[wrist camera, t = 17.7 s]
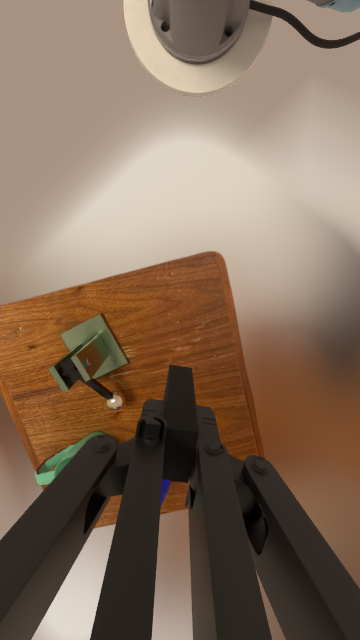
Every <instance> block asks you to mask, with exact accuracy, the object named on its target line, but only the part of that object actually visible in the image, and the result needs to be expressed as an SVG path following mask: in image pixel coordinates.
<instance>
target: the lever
mask: <svg viewBox="0 0 360 640" xmlns="http://www.w3.org/2000/svg"><path fill="white" fill-rule="evenodd" d="M62 374H63V375H64V376H65V377H67V378H68V379H70V380H71V381H73V382H75V381H77V380H79V379H80V380H81V381H82V382H84V383H85V384H87V385H88V386H89V387H91V388H92V389H94V390H95V391H96V392H98V393H99V394H100V395H102V396H103V397H105V398H106V405H107V407H108V408H109V409H111V410H119V409H120V408H122V407H123V405H124V403H125V396H124V395H123V393H122V392H120V391H112V392H111V391H109V390H108V389H107V388H105V387H104V386H103V385H102V384H100V383H99V382H98V381H96V380H95V379H94V378H91V380H88V381H86V382H85V380H84V379H83V377H82V375H81V374H80V372H79V371H78V369H77V367H76V366H75V364H74V363H73V361H72V359H71V358H70V359H68V360H66V361H64V362H63V368H62Z"/></svg>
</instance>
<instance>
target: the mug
mask: <svg viewBox="0 0 360 640" xmlns="http://www.w3.org/2000/svg"><path fill="white" fill-rule="evenodd" d="M102 434H104V433H102V432H99V431H96V432H92V433H91V434H89V435H88V436H86V437H85V438H83V439H82V440H81V441H79V442H78V443H76V444H74V445H71V446H68V447H66V448H63V449H62V450H60V451H59V452H57V453H55V454H54V455H52V456H51V457H49V458H47V459H46V460H44V462H43V463H42V464H41V465H40V467H39V468H38V469H37V470H36V472H35V475H34V476H35V478H36V480H37V482H38V484H39V485H45V484H50V483H51V482H52V480H53V479H54V478H55V477H56V476H57V475H58V474H59V472H60V471H61V470H62V469H63V468H64V467H65V465H66V464H67V463H68V462H69V461H70V460H71V459H72V457H73V456H74V455H75V454H76V453H77V452H78V451H79V449H80V448H81V447H82V446H83V445H84V444H85V443H86V441H87V440H89V439H90V438H91V437H93V436H96V435H102ZM104 435H106V434H104ZM57 464H58V465H57ZM56 465H57V466H56ZM54 466H56V468H55V470H52V471H49V470H50V469H51V468H53V467H54ZM47 471H49V472H47Z"/></svg>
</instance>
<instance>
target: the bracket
mask: <svg viewBox="0 0 360 640" xmlns="http://www.w3.org/2000/svg"><path fill="white" fill-rule="evenodd" d="M60 336H61V337H62V339H63V341H64V342H65V344H66V346H67V347H68V349H69V350H70V351H69V352H68V353H67V354H65V355H64V356H63V357H62V358H61V359H59V360H58V361H57V362H56V363H54V364H53V365H52V366H51V367H49V368H48V370H49V371H50V373H51V374H52V376H53V377H54V379H55V380H56V382H57V384H58V385H59V387H60V388H61V390H62V391H63V392H65V391H67V390H69V389H70V388H71V386H72V385H73V384H74V383H75V382H76V381H75V382H73V381H71V380H70V379H68V378H67V377H65V376H64V375H63V374H62V368H63V362H64V361H66V360H68V359H70V358H71V359H72V361H73V363H74V364H75V366H76V367H77V369H78V371H79V372H80V374H81V375H82V377H83V379H84V380H85V382H86V381H88V380H91V378H94V379H96V378H98V377H100V376H102V375H104V374H106V373H108V372H110V371H113V370H115V369H117V368H119V367H121V366H123V365H125V364H127V363H128V362H129V360H128V359H127V357H126V355H125V353H124V352H123V350H122V348H121V346H120V345H119V343H118V341H117V339H116V337H115V336H114V334H113V332H112V330H111V329H110V327H109V325H108V323H107V322H106V320H105V318H104V316H103V315H102V313H101V314H99V315H97V316H95V317H93V318H91V319H89V320H87V321H85V322H83V323H81V324H79V325H77V326H75V327H73V328H71V329H69V330H67V331H65V332H63V333H61V334H60Z"/></svg>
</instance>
